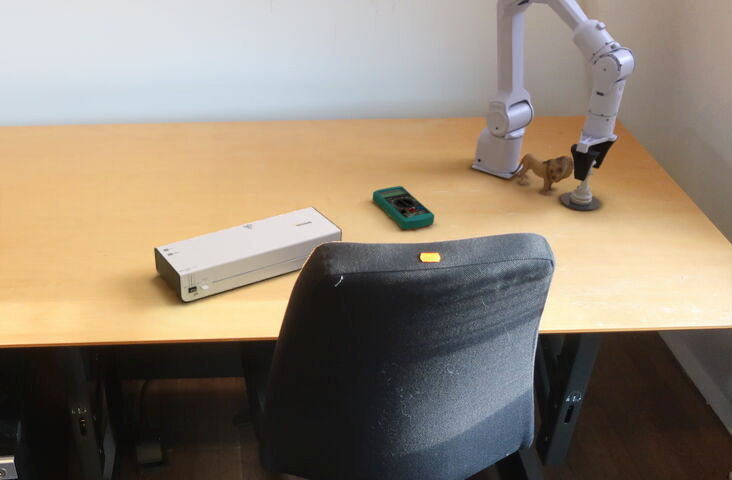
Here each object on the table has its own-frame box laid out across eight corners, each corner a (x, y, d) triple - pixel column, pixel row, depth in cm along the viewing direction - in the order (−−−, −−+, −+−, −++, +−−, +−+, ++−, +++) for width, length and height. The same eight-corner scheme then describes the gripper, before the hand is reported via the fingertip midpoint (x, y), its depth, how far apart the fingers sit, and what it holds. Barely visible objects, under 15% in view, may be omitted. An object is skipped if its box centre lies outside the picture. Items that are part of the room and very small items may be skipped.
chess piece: (574, 205, 184) (585, 162, 178) (566, 196, 187) (577, 153, 181) (594, 204, 184) (605, 161, 178) (586, 195, 187) (597, 152, 181)
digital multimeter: (403, 232, 175) (405, 219, 173) (371, 201, 186) (372, 188, 184) (435, 226, 177) (437, 213, 175) (401, 195, 188) (402, 183, 186)
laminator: (310, 233, 174) (311, 205, 171) (343, 260, 166) (345, 232, 162) (156, 275, 161) (153, 246, 157) (183, 307, 153) (181, 278, 149)
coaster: (554, 203, 185) (554, 201, 185) (570, 190, 190) (570, 188, 190) (590, 214, 181) (590, 212, 181) (604, 201, 186) (605, 199, 186)
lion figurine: (572, 193, 190) (581, 155, 184) (559, 201, 187) (569, 162, 181) (514, 172, 198) (521, 135, 192) (501, 180, 195) (508, 142, 189)
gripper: (607, 127, 167) (591, 190, 175) (635, 105, 176) (618, 167, 184) (573, 118, 170) (558, 180, 179) (602, 97, 179) (586, 158, 188)
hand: (586, 173), depth 182 cm, fingers open, 7 cm apart
